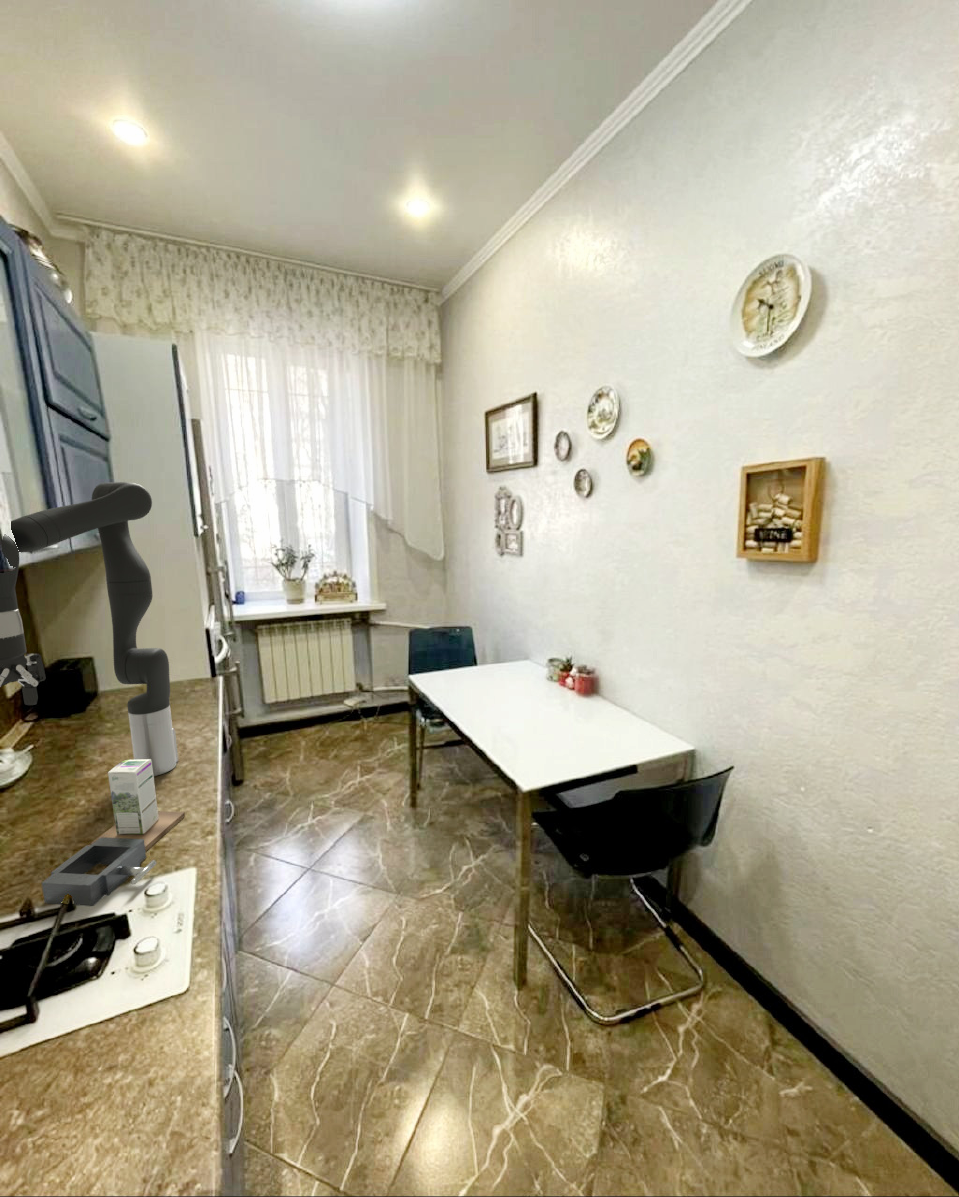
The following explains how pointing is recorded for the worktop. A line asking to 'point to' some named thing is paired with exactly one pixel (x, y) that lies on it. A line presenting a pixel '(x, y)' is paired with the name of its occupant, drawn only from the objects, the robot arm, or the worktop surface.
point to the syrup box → (133, 796)
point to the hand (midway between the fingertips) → (10, 712)
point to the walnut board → (154, 832)
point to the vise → (92, 888)
